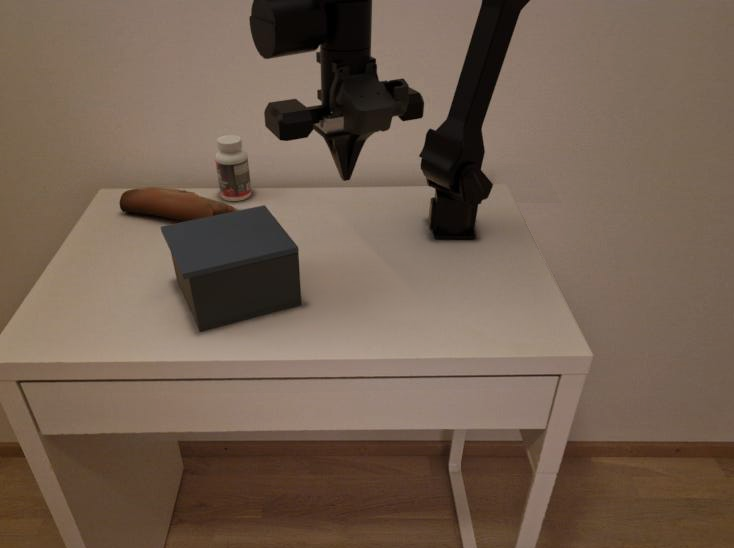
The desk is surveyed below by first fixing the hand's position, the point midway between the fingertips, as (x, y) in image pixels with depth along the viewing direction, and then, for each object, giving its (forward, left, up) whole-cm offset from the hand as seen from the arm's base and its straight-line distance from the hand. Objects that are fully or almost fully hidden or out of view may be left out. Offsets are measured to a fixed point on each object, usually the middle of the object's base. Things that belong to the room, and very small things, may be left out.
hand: (345, 179), depth 76 cm
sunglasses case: (+27, -16, -13) cm, 35 cm away
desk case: (+14, +7, -13) cm, 21 cm away
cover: (+15, +7, -5) cm, 17 cm away
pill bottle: (+19, -23, -13) cm, 33 cm away
